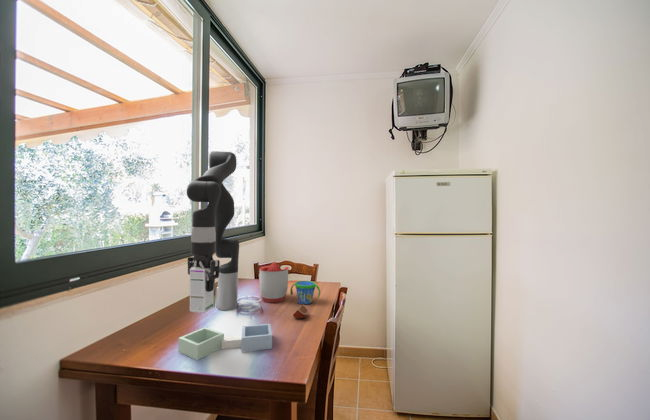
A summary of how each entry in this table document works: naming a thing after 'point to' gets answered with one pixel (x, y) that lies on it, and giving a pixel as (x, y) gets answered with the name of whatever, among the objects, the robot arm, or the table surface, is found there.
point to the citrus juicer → (273, 283)
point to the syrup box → (200, 291)
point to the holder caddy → (225, 340)
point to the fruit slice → (301, 312)
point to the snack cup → (305, 291)
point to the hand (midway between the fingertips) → (202, 289)
